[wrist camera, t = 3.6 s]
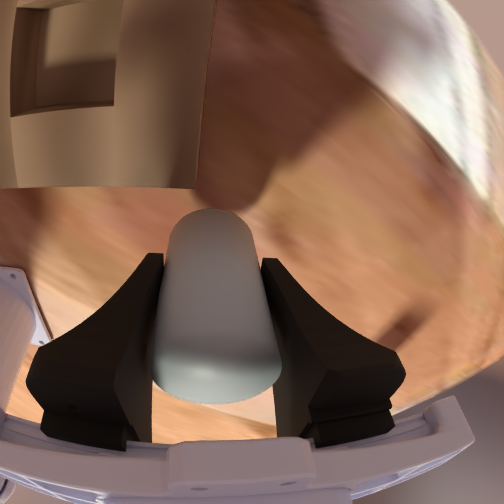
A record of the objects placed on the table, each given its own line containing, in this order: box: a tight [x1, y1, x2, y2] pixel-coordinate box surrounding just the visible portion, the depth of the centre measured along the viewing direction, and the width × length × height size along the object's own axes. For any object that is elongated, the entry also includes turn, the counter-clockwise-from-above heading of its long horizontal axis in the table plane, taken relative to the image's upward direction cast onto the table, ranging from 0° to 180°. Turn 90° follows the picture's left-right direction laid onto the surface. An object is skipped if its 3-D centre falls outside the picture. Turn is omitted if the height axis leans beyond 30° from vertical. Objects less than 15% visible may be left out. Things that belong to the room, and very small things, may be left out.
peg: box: [149, 208, 282, 404], centre depth 12 cm, size 4×4×7 cm
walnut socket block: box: [0, 0, 217, 189], centre depth 9 cm, size 12×12×3 cm
